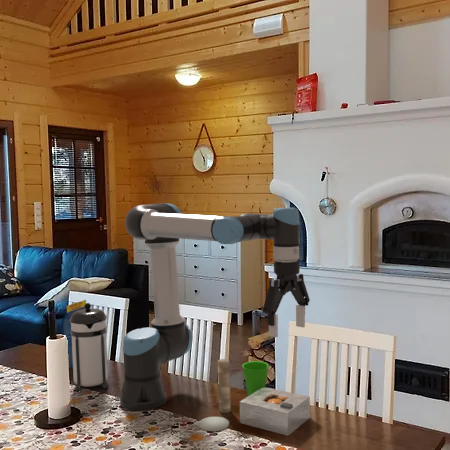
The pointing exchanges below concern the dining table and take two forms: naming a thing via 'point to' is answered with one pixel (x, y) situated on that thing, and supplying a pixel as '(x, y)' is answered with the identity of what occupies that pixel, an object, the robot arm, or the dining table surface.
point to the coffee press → (89, 347)
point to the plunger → (275, 401)
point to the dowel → (224, 385)
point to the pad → (213, 424)
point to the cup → (255, 375)
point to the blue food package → (67, 326)
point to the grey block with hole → (275, 410)
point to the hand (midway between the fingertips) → (287, 331)
